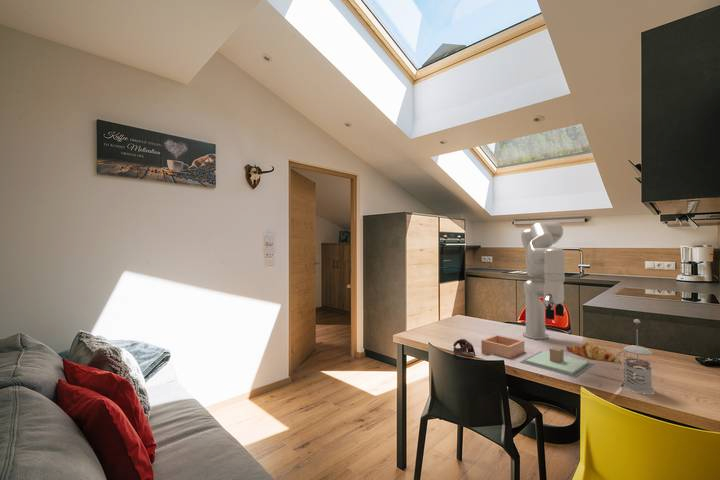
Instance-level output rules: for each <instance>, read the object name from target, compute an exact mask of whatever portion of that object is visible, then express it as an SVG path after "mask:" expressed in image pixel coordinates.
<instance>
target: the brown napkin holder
mask: <svg viewBox="0 0 720 480" xmlns="http://www.w3.org/2000/svg"><path fill="white" fill-rule="evenodd" d="M457 345H459V347H457ZM453 353H454V355H456V354H459V355H460V354H463V353H472V354H473V355H474V356H475V357H476V351H475V349H474V346H473V344H472V343H471V342H470V341H468V340H467V339H465V338H460V339H457V340H456V341H455V342H454V343H453Z"/></svg>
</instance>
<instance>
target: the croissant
mask: <svg viewBox="0 0 720 480" xmlns="http://www.w3.org/2000/svg"><path fill="white" fill-rule="evenodd" d="M566 350H567V351H568V352H569V353H572V354H574V355H577V356H579V357H582V358H585V359H589V360H590V359H591V360H593V361H604V362H610V363H611V362H612V363H616V355H615V354H611V353H610V352H609V351H608V350H607V349H605V348H601V347H599V346H597V345H596V344H592V343H589V342H585V343H584V344H579V345H577V346H576V345H572V346H566ZM619 360H620V363H621V362H622V361H621V359H620V358H619V357H617V363H616V364H618V363H619ZM620 363H619V364H620Z"/></svg>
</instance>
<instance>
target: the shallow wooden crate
mask: <svg viewBox="0 0 720 480" xmlns="http://www.w3.org/2000/svg"><path fill="white" fill-rule="evenodd" d="M524 352H525V340H522V339H517V338H512V337H509V336H503V335H499V334H495V335H492V336H490V337H487V338H484V339H481V354H485V355H489V356H492V355H497V356H501V357H504V358H507V359H512V358H514V357H516V356H518V355H520V354H522V353H524Z"/></svg>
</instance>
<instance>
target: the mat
mask: <svg viewBox="0 0 720 480" xmlns="http://www.w3.org/2000/svg"><path fill="white" fill-rule="evenodd" d="M541 352H543V350H542V351H539V352H537V353H534V354H533V355H531V356H529V357H527V358H524V359H523V360H521V361H519V362H518V363H520V364H523V365H527V366H531V367H535V368H538V369H542V370H546V371H550V372H553V373H556V374H560V375H565V376H568V377H570V378H571V377H573V378H575V379H576V378H579V377H580V376H581V375H582V374H584V373H585V372H586V371H588V370H589V369H591V368H592V367H593V366H594V365H596V364H595V363H593V362H589V361H588V364H587V365H586V366H584V367H583V368H582V369H580V370H579V371H577V372H576V373H574V374H573V375H571V374H567V373H564V372H560V371H556V370H552V369H549V368H545V367H541V366H537V365H534V364H530V363H526V360H527V359H529V358H531V357H533V356H535V355H537V354H539V353H541Z"/></svg>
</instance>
